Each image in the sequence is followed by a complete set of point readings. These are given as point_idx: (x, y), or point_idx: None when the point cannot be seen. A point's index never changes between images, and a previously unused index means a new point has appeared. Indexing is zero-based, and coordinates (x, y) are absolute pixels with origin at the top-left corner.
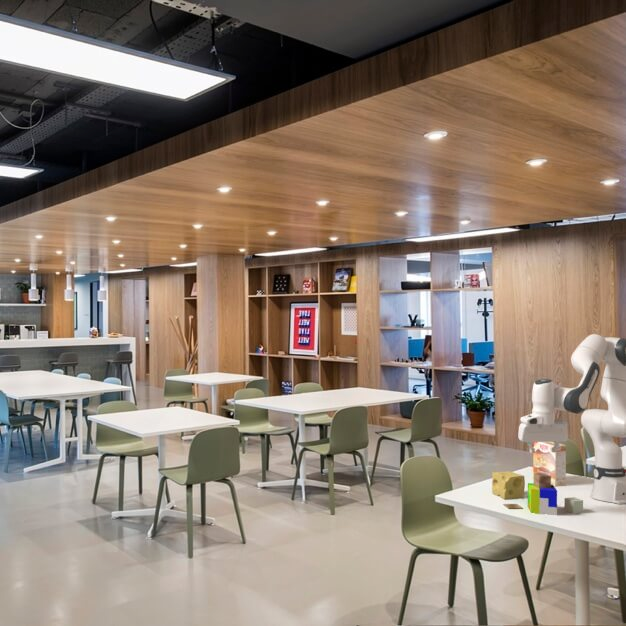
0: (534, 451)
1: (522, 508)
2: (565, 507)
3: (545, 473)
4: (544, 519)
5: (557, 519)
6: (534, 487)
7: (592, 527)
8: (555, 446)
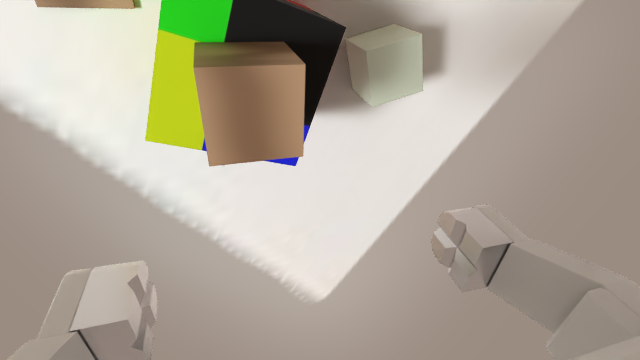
0: (148, 321)
1: (131, 8)
2: (350, 48)
3: (304, 72)
4: (198, 165)
5: (251, 162)
6: (182, 101)
7: (324, 222)
8: (519, 293)
